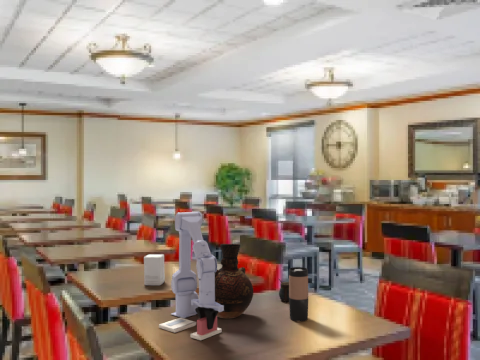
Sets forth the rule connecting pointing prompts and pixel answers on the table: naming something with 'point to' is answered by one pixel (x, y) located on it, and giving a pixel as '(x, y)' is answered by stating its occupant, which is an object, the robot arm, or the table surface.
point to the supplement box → (154, 269)
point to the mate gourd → (284, 291)
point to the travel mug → (298, 293)
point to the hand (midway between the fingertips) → (207, 327)
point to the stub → (205, 329)
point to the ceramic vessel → (232, 284)
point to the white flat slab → (177, 325)
